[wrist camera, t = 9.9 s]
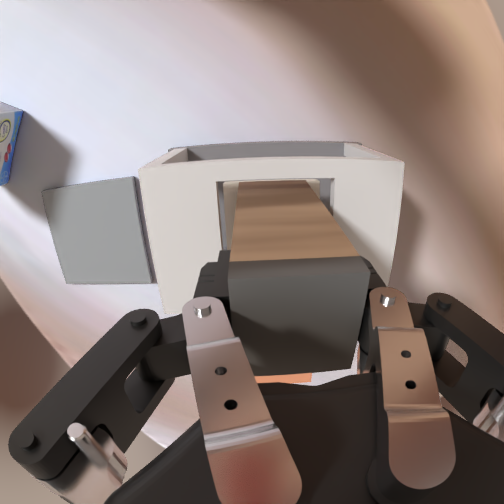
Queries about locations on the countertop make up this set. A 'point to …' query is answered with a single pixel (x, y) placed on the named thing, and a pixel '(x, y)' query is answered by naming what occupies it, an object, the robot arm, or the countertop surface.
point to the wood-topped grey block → (293, 281)
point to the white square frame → (262, 168)
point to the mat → (98, 232)
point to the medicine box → (8, 138)
